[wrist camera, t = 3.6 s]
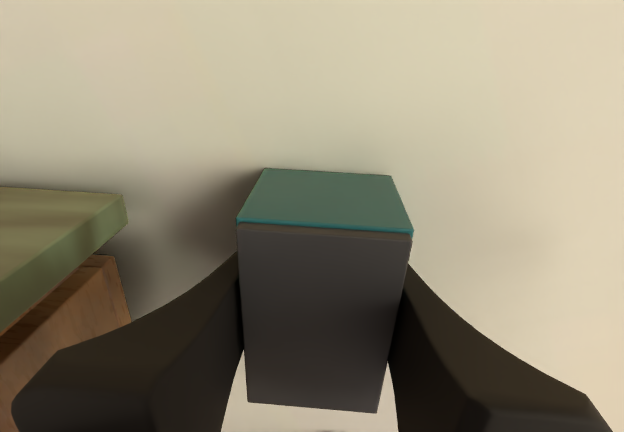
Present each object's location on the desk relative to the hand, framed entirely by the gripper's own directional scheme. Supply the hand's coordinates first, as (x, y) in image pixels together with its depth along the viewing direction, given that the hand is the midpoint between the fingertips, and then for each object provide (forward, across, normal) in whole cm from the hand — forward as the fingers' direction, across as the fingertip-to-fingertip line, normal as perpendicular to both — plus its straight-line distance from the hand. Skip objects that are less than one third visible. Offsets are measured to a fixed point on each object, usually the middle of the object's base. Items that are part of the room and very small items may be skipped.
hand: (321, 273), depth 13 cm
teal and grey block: (+1, 0, 0) cm, 1 cm away
